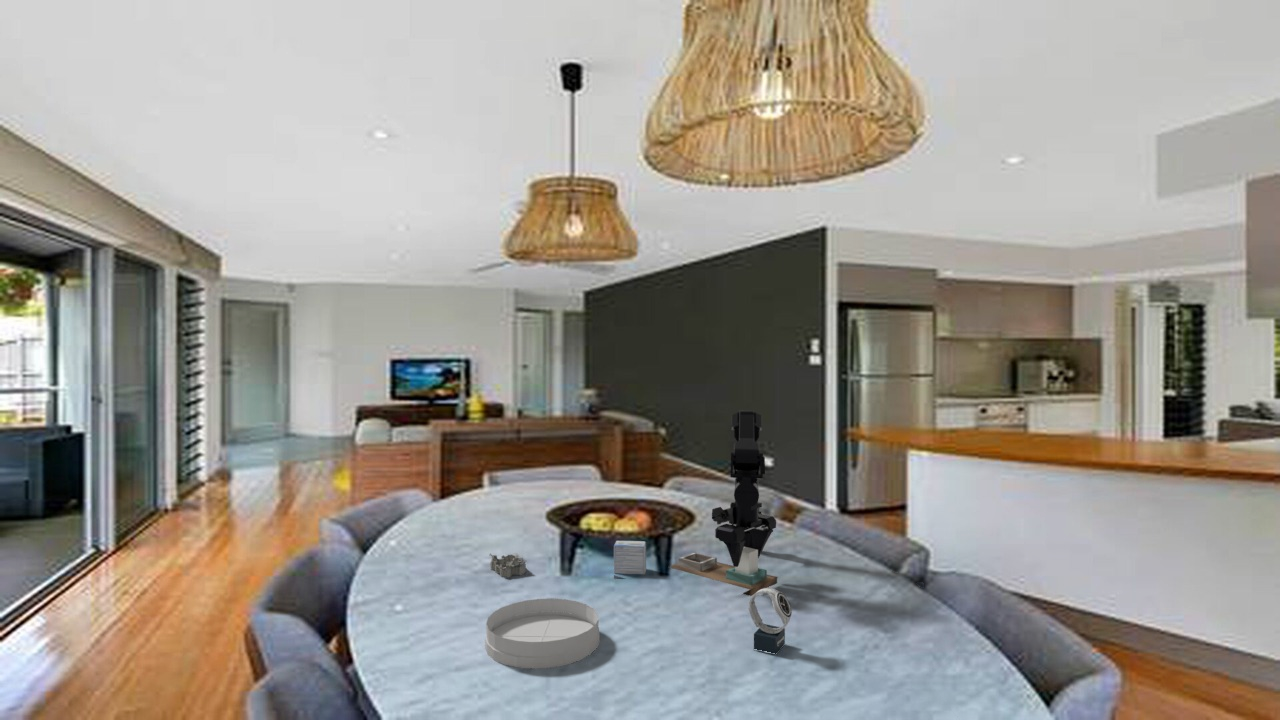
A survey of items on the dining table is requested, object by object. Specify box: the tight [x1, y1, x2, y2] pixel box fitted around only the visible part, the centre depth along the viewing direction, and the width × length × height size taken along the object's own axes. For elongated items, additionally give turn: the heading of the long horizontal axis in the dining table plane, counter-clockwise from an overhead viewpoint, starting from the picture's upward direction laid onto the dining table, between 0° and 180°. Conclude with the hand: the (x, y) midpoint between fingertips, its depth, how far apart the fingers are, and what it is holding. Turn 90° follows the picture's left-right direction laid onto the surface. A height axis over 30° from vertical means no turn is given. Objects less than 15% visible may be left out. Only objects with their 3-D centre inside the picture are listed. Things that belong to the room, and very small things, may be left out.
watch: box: [748, 587, 793, 655], centre depth 129 cm, size 6×8×11 cm
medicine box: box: [613, 540, 647, 580], centre depth 170 cm, size 8×4×9 cm, turn 84°
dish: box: [484, 598, 600, 670], centre depth 131 cm, size 22×22×5 cm
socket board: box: [669, 552, 778, 597], centre depth 170 cm, size 12×25×4 cm, turn 48°
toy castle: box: [488, 553, 527, 578], centre depth 175 cm, size 11×8×4 cm
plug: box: [735, 547, 759, 575], centre depth 165 cm, size 4×4×7 cm
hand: (746, 562), depth 165 cm, fingers open, 9 cm apart
